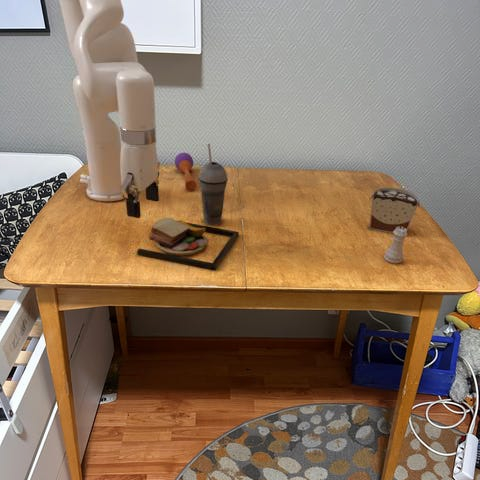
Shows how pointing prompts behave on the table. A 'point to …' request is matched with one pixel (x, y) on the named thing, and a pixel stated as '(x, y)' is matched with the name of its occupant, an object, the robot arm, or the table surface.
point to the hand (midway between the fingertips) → (143, 208)
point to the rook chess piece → (396, 246)
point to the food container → (392, 209)
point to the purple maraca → (186, 169)
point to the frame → (193, 262)
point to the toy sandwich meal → (177, 237)
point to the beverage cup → (212, 190)
